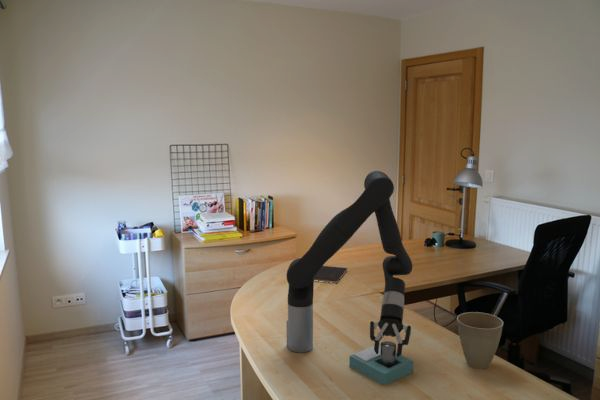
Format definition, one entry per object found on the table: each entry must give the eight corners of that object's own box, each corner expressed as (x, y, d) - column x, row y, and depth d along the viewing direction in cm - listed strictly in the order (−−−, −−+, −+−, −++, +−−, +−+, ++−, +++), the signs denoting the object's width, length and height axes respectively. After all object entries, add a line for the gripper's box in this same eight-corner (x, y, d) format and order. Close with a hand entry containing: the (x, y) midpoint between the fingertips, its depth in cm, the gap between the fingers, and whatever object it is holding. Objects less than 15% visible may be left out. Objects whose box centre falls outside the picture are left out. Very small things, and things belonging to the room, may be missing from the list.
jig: (349, 366, 174) (349, 354, 173) (377, 354, 183) (378, 342, 182) (384, 385, 162) (384, 372, 161) (413, 372, 170) (413, 359, 170)
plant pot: (490, 353, 183) (492, 311, 181) (508, 374, 169) (511, 328, 166) (449, 354, 183) (451, 312, 180) (463, 374, 168) (465, 329, 166)
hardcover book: (347, 272, 281) (347, 268, 281) (336, 285, 260) (337, 280, 259) (319, 269, 286) (319, 265, 286) (307, 281, 265) (307, 277, 264)
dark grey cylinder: (376, 372, 170) (377, 344, 169) (387, 367, 173) (387, 339, 172) (388, 378, 167) (388, 349, 165) (398, 373, 170) (399, 345, 168)
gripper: (370, 300, 175) (364, 347, 166) (413, 304, 171) (409, 353, 162) (372, 309, 181) (366, 355, 172) (414, 314, 177) (410, 361, 168)
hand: (387, 354), depth 167 cm, fingers open, 6 cm apart
